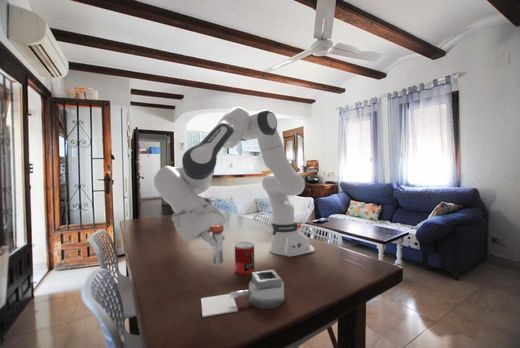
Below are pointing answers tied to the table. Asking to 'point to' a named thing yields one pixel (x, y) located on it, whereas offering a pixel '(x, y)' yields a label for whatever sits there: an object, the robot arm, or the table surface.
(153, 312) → the table surface
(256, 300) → the square socket stand
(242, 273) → the canned food
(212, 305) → the rubber mat
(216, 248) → the red capped grey cylinder
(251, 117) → the robot arm
